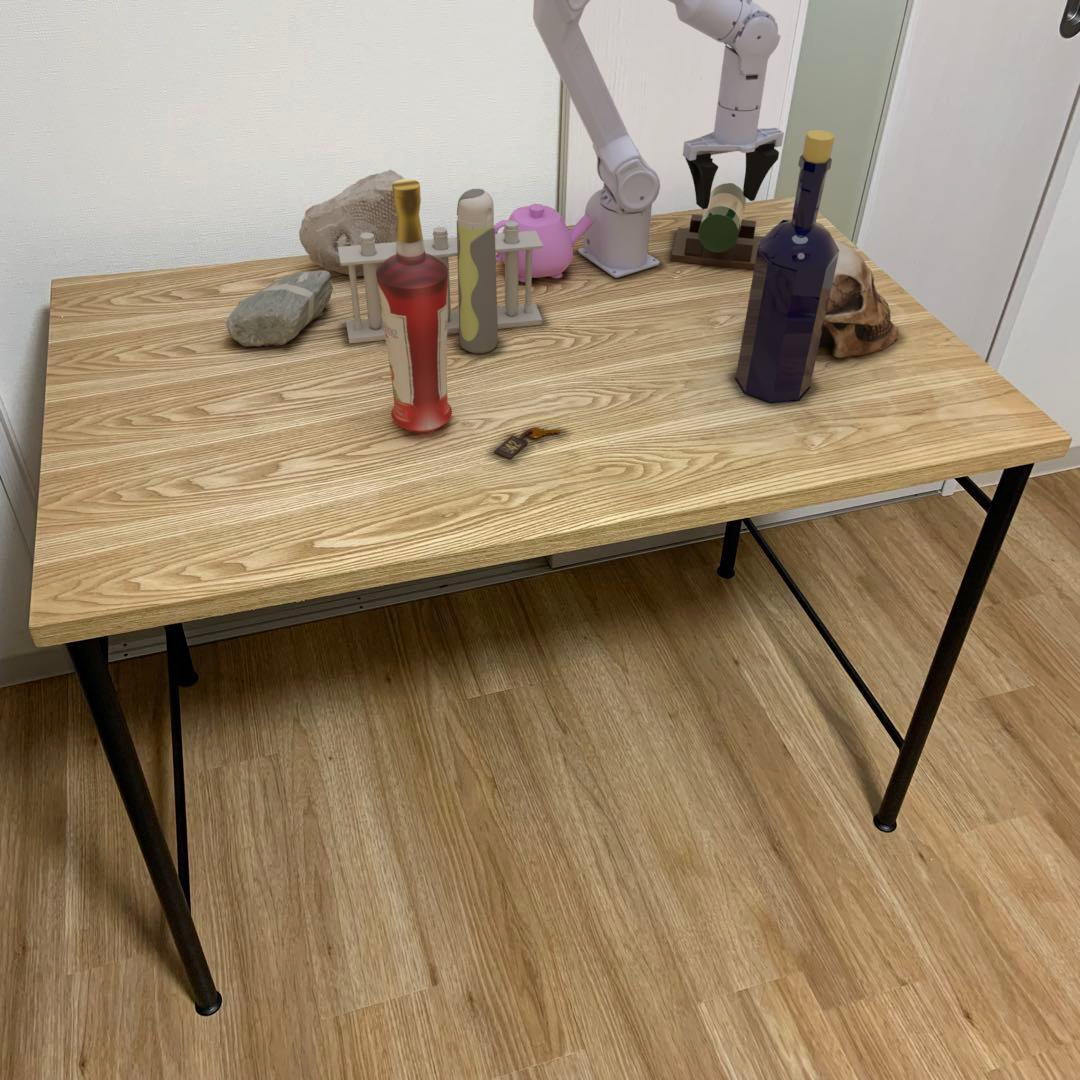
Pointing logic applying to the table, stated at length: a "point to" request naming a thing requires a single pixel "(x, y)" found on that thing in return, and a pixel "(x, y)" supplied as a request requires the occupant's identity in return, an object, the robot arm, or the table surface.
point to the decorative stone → (280, 309)
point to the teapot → (545, 240)
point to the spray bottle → (477, 272)
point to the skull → (855, 309)
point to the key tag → (520, 441)
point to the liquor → (415, 320)
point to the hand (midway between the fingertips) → (725, 202)
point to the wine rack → (735, 257)
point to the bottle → (790, 290)
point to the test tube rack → (442, 250)
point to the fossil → (351, 220)
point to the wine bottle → (722, 218)
